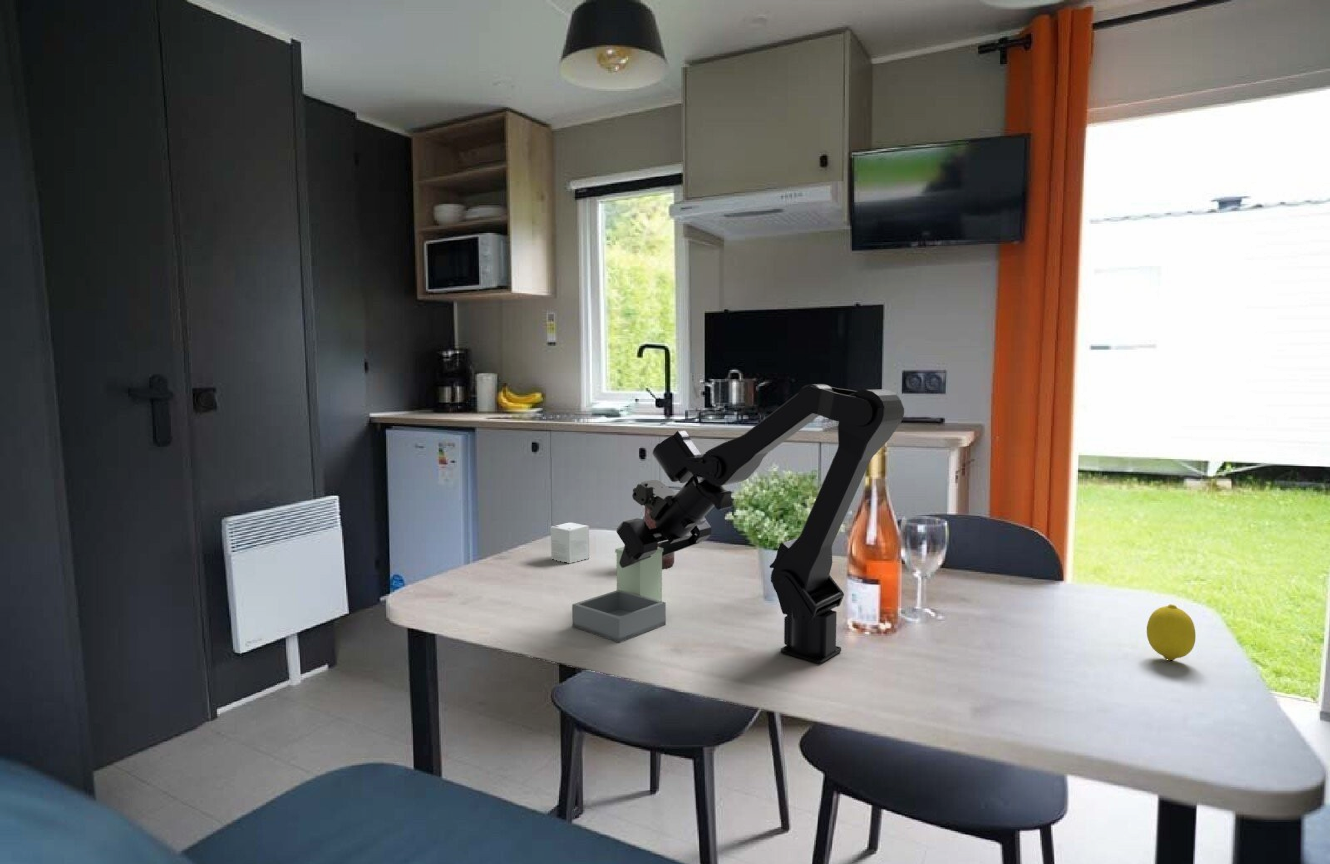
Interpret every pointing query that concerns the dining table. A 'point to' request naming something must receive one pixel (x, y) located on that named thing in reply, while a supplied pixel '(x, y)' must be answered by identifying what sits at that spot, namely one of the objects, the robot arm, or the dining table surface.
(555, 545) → the skincare box
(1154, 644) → the lemon
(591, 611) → the crate
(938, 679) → the dining table surface
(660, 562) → the small green box
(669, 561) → the can
